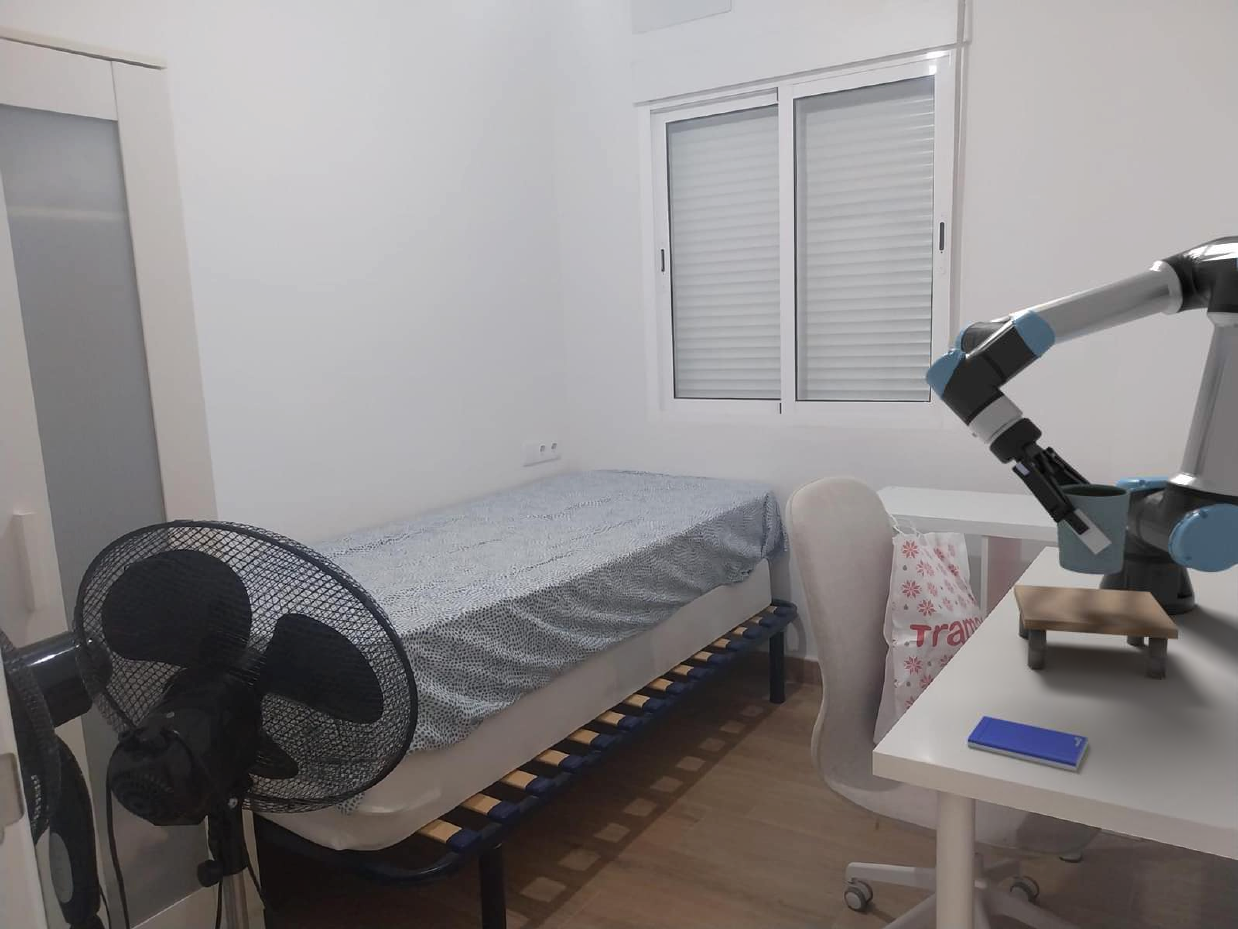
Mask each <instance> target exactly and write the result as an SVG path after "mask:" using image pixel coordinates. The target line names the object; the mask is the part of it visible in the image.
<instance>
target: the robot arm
mask: <svg viewBox="0 0 1238 929" xmlns="http://www.w3.org/2000/svg"><path fill="white" fill-rule="evenodd" d="M1200 309H1207V310H1206V314H1205V315H1206V316H1207V318H1208V320H1210V322H1211V323H1212V325H1213V332H1212V336H1211V339H1210V340H1211V341H1210V344H1209V348H1208V353H1207V357H1206V361H1205V365H1204V370H1203V374H1202V377H1201V381H1200V386H1199V390H1198V394H1197V399H1196V403H1195V407H1194V410H1193V415H1192V418H1191V423H1190V427H1189V431H1188V436H1187V439H1186V444H1185V448H1184V452H1183V457H1182V461H1181V465H1180V468H1179V471H1178V472H1177V473H1175V474H1173V475H1171V476H1136V477H1135V476H1133V477H1132V476H1131V477H1123V478H1120V479H1119V480H1118V481H1117V482H1116V484H1115V486H1117V487H1122V488H1125V489H1127V490H1129V491H1130V499H1129V508H1128V512H1127V516H1128V517H1127V524H1126V530H1125V533H1126V535H1125V543H1124V551H1123V552H1124V554H1123V567H1122V569H1121V571H1120V572H1118V573H1113V574H1103V575H1102V578H1101V580H1100V582H1099V586H1098V589H1104V590H1123V591H1141V592H1150V593H1151V595H1152V596H1153V597H1154V598H1155V600H1156V601H1157V602H1158V604H1159V605H1160V606H1161V607H1162V609H1163V610H1164V611H1165V613H1166V614H1167V615H1174V614H1175V615H1176V614H1183V613H1188V612H1190V611H1192V610H1193V609H1195V604H1196V603H1195V601H1196V600H1195V599H1196V595H1195V590H1194V587H1193V585H1192V581H1191V578H1190V575H1189V572H1188V569H1193V570H1195V571H1198V572H1201V573H1202V572H1203V573H1219V572H1223V571H1227V570H1229V569H1232V567H1233V566H1235V565H1238V235H1229V236H1222V237H1220V238H1215V239H1213V240H1209V241H1207V242H1204V243H1201V244H1199V245H1197V246H1194V247H1192V248H1189V249H1186V250H1184V251H1182V252H1179V253H1177V254H1173V255H1171V256H1168V257H1165V258H1163V259H1160V260H1155V261H1154V262H1152V264H1151V265H1149V267H1148V269H1147V270H1144V271H1142V272H1138V273H1135V274H1132V275H1128V276H1126V277H1123V278H1119V279H1116V280H1112V281H1109V282H1107V283H1105V284H1101V285H1098V286H1095V287H1091V288H1088V289H1085V290H1082V291H1079V292H1076V293H1072V294H1069V295H1066V296H1063V297H1060V298H1057V299H1054V300H1051V301H1047V302H1043V303H1042V304H1041V303H1040V304H1037V305H1035V306H1031V307H1028V308H1025V309H1022V310H1018V311H1016V312H1013V313H1009V314H1008V315H1004V316H1001V317H997V318H994V319H991V320H987V321H977V322H974V323H971V324H968V325H966V326H964V327H963V328H962V329H961V330H960V331H959V333H957V336H956V338H955V348H951V349H950V350H948V351H947V352H945V353H943V354H942V355H940V357H938V359H936V360H935V361H934V362H933V364H931V365H930V367H929V368H928V369H927V372H926V374H925V381H926V384H928V386H929V387H930V388H931V389H932V391H934V393H935V394H936V395H937V396H938V398H939V400H940V401H942V402H943V403H944V404H945V405H946V406H947V407H948V408H949V409H950V410H951V411H952V412H953V413H954V414H955V415H956V416H957V418H959V419H960V420H961V421H962V422H963V424H965V425H966V426H967V428H968V429H969V430H970V431H971V432H972V434H971V436H972V437H973V438H978V439H979V440H980V441H981V442H982V443H983V445H989V446H988V448H989V451H990V452H991V453H992V455H994V456H995V457H996V458H997V459H998V461H999V462H1000V463H1001V464H1003V465H1007V464H1010V463H1011V462H1013V461H1015V463H1016V464H1015V465H1014V466H1012V467H1011V470H1012V472H1013V473H1014V474H1015V475H1016V476H1018V478H1019V479H1020V480H1021V481H1022V482H1023V483H1024V484H1025V486H1026V487H1027V488H1028V489H1029V491H1031V494H1033V496H1034V497H1035V498H1036V499H1037V501H1038V503H1040V505H1041V506H1042V507H1043V509H1044V510H1045V511H1046V512H1047V513H1048V515H1049V516H1050V517H1051V518H1052V520H1053V521H1054V523H1055V524H1057V523H1059V522H1061V521H1062V520H1063V519H1064V520H1063V521H1064V522H1065V523H1066V524H1067V525H1068V526H1069V527H1070V529H1071V530H1072V531H1073V532H1074V533H1075V534H1076V535H1077V536H1078V537H1079V538H1080V539H1081V540H1082V541H1083V542H1084V543H1085V544H1086V545H1087V546H1088V547H1089V548H1090V549H1091V551H1092V552H1093V553H1094V554H1095V555H1096V554H1097V553H1099V552H1100V551H1101V550H1103V549H1104V548H1105V547H1107V546H1108V545H1110V544H1111V543H1112V542H1111V541H1110V540H1109V539H1108V538H1107V537H1106V536H1105V535H1104V534H1103V533H1102V532H1101V531H1100V530H1099V529H1098V528H1097V527H1096V526H1095V525H1094V524H1093V523H1092V522H1091V521H1090V520H1089V518H1088V517H1087V516H1086V515H1085V514H1083V513H1082V512H1081V510H1080V509H1079V508H1078V509H1077V510H1076V511H1075V508H1074V506H1073V505H1072V504H1071V502H1070V501H1069V499H1068V498H1067V496H1066V495H1065V493H1064V492H1063V490H1062V489H1061V487H1060V486H1065V485H1074V484H1092V483H1091V482H1090V481H1089V480H1087V478H1085V477H1084V476H1083V475H1082V474H1080V472H1078V471H1077V470H1076V469H1075V468H1073V467H1072V466H1071V465H1070V464H1069V463H1068V462H1067V461H1066V460H1065V459H1063V458H1062V457H1061V456H1060V455H1059V454H1058V453H1057V452H1056V450H1054V448H1053V447H1051V446H1047V448H1045V449H1044V448H1042V447H1041V446H1040V445H1039V444H1037V441H1038V440H1039V439H1041V437H1042V434H1043V432H1042V431H1041V430H1042V429H1040V428H1039V427H1038V426H1037V425H1036V424H1035V423H1034V422H1033V421H1032V420H1031V419H1030V418H1029V417H1023V416H1024V412H1023V411H1022V410H1021V409H1020V408H1019V407H1018V406H1017V405H1016V404H1015V403H1014V401H1012V400H1011V398H1009V397H1008V396H1007V395H1006V394H1005V393H1004V392H1003V391H1002V390H1001V388H1002V387H1003V386H1005V385H1006V384H1007V383H1008V382H1010V381H1011V380H1012V379H1013V378H1015V377H1017V375H1019V374H1020V373H1021V372H1022V371H1024V370H1025V369H1026V368H1028V367H1029V366H1030V365H1032V364H1033V363H1034V362H1036V361H1037V360H1038V359H1040V358H1043V356H1044V355H1045V354H1046V352H1048V351H1049V350H1051V348H1052V347H1053V346H1055V345H1060V344H1063V343H1065V342H1069V341H1072V340H1076V339H1079V338H1082V337H1085V336H1088V335H1089V336H1090V335H1091V334H1094V333H1098V332H1101V331H1104V330H1108V329H1111V328H1113V327H1117V326H1121V325H1124V324H1128V323H1131V322H1134V321H1136V320H1141V319H1143V318H1147V317H1150V316H1152V315H1156V314H1160V313H1162V314H1164V315H1166V316H1172V315H1175V314H1179V313H1183V312H1186V311H1192V310H1200Z"/></svg>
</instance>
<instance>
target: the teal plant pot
mask: <svg viewBox="0 0 1238 929" xmlns="http://www.w3.org/2000/svg"><path fill="white" fill-rule="evenodd" d="M1060 487H1061V489H1062V490H1063V492H1064V493H1065V495H1066V496H1067V498H1068V499H1069V501H1070V502H1071V504H1072V505H1073V506H1074V508H1075V511H1076V510H1077V509H1078V508H1079V509H1080V510H1081V512H1082V513H1083V514H1085V515H1086V516H1087V517H1088V518H1089V520H1090V521H1091V522H1092V523H1093V524H1094V525H1095V526H1096V527H1097V528H1098V529H1099V530H1100V531H1101V532H1102V533H1103V534H1104V535H1105V536H1106V537H1107V538H1108V539H1109V540H1110V541H1111V542H1112V543H1111V544H1110V545H1108V546H1107V547H1105V548H1104V549H1103V550H1101V551H1100V552H1099V553H1097V554H1096V555H1095V554H1094V553H1093V552H1092V551H1091V549H1090V548H1089V547H1088V546H1087V545H1086V544H1085V543H1084V542H1083V541H1082V540H1081V539H1080V538H1079V537H1078V536H1077V535H1076V534H1075V533H1074V532H1073V531H1072V530H1071V529H1070V527H1069V526H1068V525H1067V524H1066V523H1065V522H1064V521H1063V520H1064V519H1063V520H1062V521H1061V522H1059V523H1056V528H1057V532H1056V534H1057V542H1058V543H1057V545H1058V562H1059V566H1060V567H1061V568H1062V569H1063V570H1065V571H1066V570H1067V571H1070V572H1072V573H1079V574H1085V575H1101V576H1103V575H1104V574H1113V573H1118V572H1120V571H1121V569H1122V567H1123V554H1124V552H1123V551H1124V543H1125V535H1126V533H1125V530H1126V524H1127V517H1128V516H1127V512H1128V508H1129V499H1130V491H1129V490H1127V489H1125V488H1122V487H1117V486H1116V485H1110V484H1109V485H1108V484H1101V483H1100V484H1099V483H1091V484H1074V485H1065V486H1060Z"/></svg>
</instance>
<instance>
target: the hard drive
mask: <svg viewBox="0 0 1238 929" xmlns="http://www.w3.org/2000/svg"><path fill="white" fill-rule="evenodd" d="M966 741H967V744H966V745H967V746H968V747H972V748H976V749H979V750H983V751H989V752H993V753H996V754H1001V755H1006V756H1010V757H1014V758H1018V759H1021V760H1027V761H1031V762H1036V763H1038V764H1044V765H1047V766H1051V767H1056V768H1060V769H1064V770H1065V769H1066V770H1068V771H1074V772H1077V770H1078V768H1079V765H1080V764H1081V761H1082V759H1083V756H1084V754H1085V751H1086V749H1087V747H1088V745H1089V737H1087V736H1083V735H1076V734H1073V733H1068V732H1067V733H1066V732H1063V731H1058V730H1053V729H1048V728H1043V727H1039V726H1034V725H1029V724H1024V723H1018V722H1014V721H1011V720H1004V719H1001V718H995V717H991V716H986V715H983V716H982V718H981V719H980V721H979V722H978V724H977V725H976V726H975V728H974V729H973V730H972V732H971V733H970V735H969V736H968V737H967V740H966Z"/></svg>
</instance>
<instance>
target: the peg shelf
mask: <svg viewBox="0 0 1238 929" xmlns="http://www.w3.org/2000/svg"><path fill="white" fill-rule="evenodd" d="M1013 594H1014V598H1015V601H1016V605H1017V608H1018V611H1019V621H1018V622H1019V623H1018V625H1019V626H1018V635H1019V636H1020V637H1023V638H1026V637H1029V638H1028V646H1027V667H1028V666H1029V667H1028V668H1030V667H1032V668H1035V669H1034V670H1044V669H1045V668H1046V656H1047V655H1046V654H1047V653H1046V652H1047V631H1051V632H1052V631H1053V632H1065V633H1067V632H1068V633H1077V634H1078V633H1079V634H1081V633H1082V634H1095V635H1096V634H1098V635H1110V636H1111V635H1113V636H1124V637H1126V643H1127V644H1129V645H1131V644H1132V646H1144V644H1145V638H1148V640H1147V642H1148V644H1147V658H1146V663H1147V664H1146V674H1147V675H1146V676H1147V677H1148V676H1149V677H1148V678H1150V677H1151V678H1150V679H1154V678H1159V679H1158V680H1163V679H1162V678H1164V679H1166V675H1167V674H1166V671H1167V660H1168V659H1167V658H1168V657H1167V656H1168V642H1169V640H1170V639H1171V640H1179V628H1178V627H1177V625H1176V624H1175V623H1174V622H1173V620H1172V619H1171V617H1169V614H1166V613H1165V611H1164V610H1163V609H1162V607H1161V606H1160V605H1159V604H1158V602H1157V601H1156V600H1155V598H1154V597H1153V596H1152V595H1151V593H1150V592H1141V591H1123V590H1104V589H1099V588H1098V589H1097V588H1083V587H1081V588H1079V587H1065V586H1064V587H1063V586H1046V585H1045V586H1044V585H1027V584H1026V585H1025V584H1013ZM1044 667H1045V668H1044ZM1032 668H1031V669H1032ZM1043 668H1044V669H1043Z"/></svg>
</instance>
